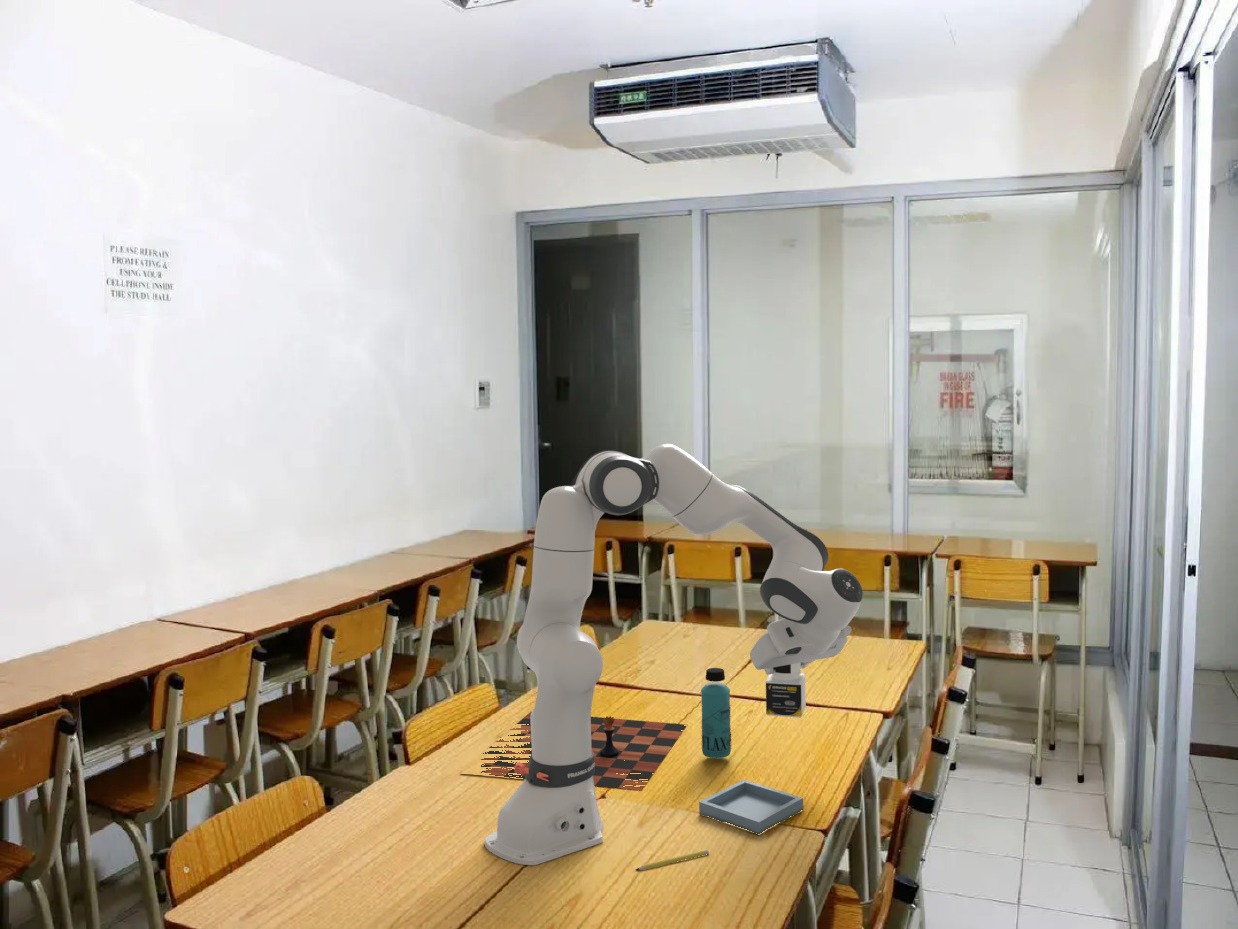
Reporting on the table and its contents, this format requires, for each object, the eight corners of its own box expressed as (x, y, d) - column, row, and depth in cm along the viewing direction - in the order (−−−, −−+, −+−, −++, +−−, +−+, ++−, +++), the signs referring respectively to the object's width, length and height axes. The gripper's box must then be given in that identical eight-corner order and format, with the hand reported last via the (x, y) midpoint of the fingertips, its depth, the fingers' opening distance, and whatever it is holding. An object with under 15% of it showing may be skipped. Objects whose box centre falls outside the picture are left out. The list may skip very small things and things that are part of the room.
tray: (759, 835, 189) (758, 822, 189) (699, 814, 199) (699, 801, 199) (803, 810, 199) (803, 798, 199) (744, 791, 209) (744, 779, 209)
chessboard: (461, 776, 223) (459, 726, 222) (531, 715, 261) (529, 672, 260) (641, 795, 211) (641, 742, 210) (687, 729, 249) (687, 683, 248)
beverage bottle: (696, 762, 225) (694, 671, 223) (708, 752, 231) (706, 663, 229) (725, 767, 222) (723, 675, 220) (736, 756, 228) (734, 666, 226)
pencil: (633, 871, 178) (633, 866, 178) (706, 854, 184) (706, 848, 183) (635, 874, 177) (635, 868, 177) (709, 856, 183) (709, 851, 182)
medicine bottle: (765, 715, 211) (765, 657, 210) (771, 705, 218) (770, 648, 217) (801, 718, 209) (800, 659, 208) (805, 707, 216) (805, 649, 215)
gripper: (847, 611, 210) (818, 648, 219) (762, 624, 201) (735, 662, 210) (862, 638, 206) (832, 674, 216) (775, 652, 197) (748, 689, 207)
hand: (783, 668), depth 213 cm, fingers closed on medicine bottle, 6 cm apart
